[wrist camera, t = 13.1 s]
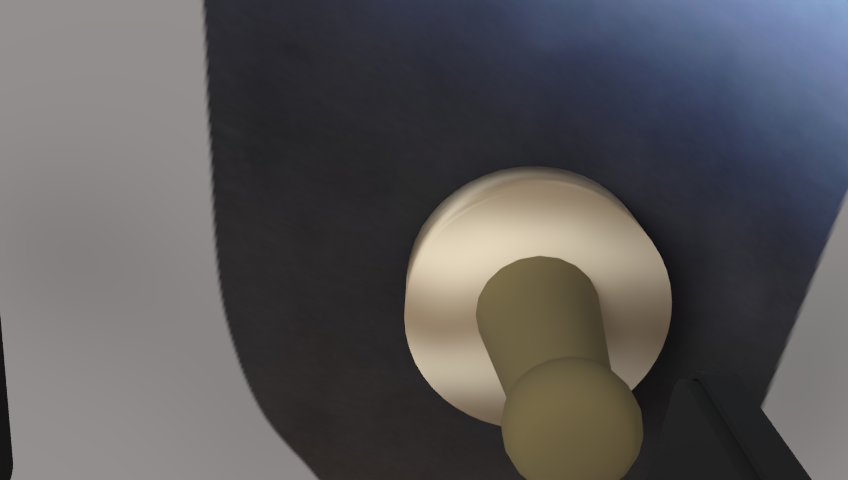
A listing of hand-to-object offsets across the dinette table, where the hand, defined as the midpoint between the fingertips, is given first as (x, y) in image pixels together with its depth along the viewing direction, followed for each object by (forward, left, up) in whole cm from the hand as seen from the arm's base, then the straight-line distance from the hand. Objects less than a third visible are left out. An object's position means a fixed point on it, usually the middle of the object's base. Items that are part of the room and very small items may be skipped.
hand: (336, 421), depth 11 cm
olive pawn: (+10, +8, -24) cm, 28 cm away
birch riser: (+10, +8, -28) cm, 31 cm away
